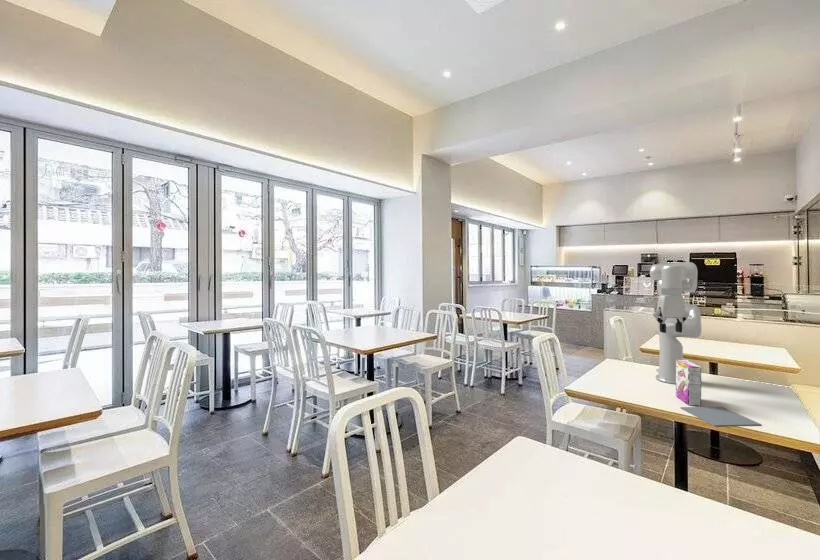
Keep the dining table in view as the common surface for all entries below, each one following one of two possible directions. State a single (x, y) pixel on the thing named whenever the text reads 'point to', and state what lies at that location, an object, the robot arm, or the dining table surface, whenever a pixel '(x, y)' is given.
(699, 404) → the candy bar box
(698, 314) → the robot arm
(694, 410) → the mat
